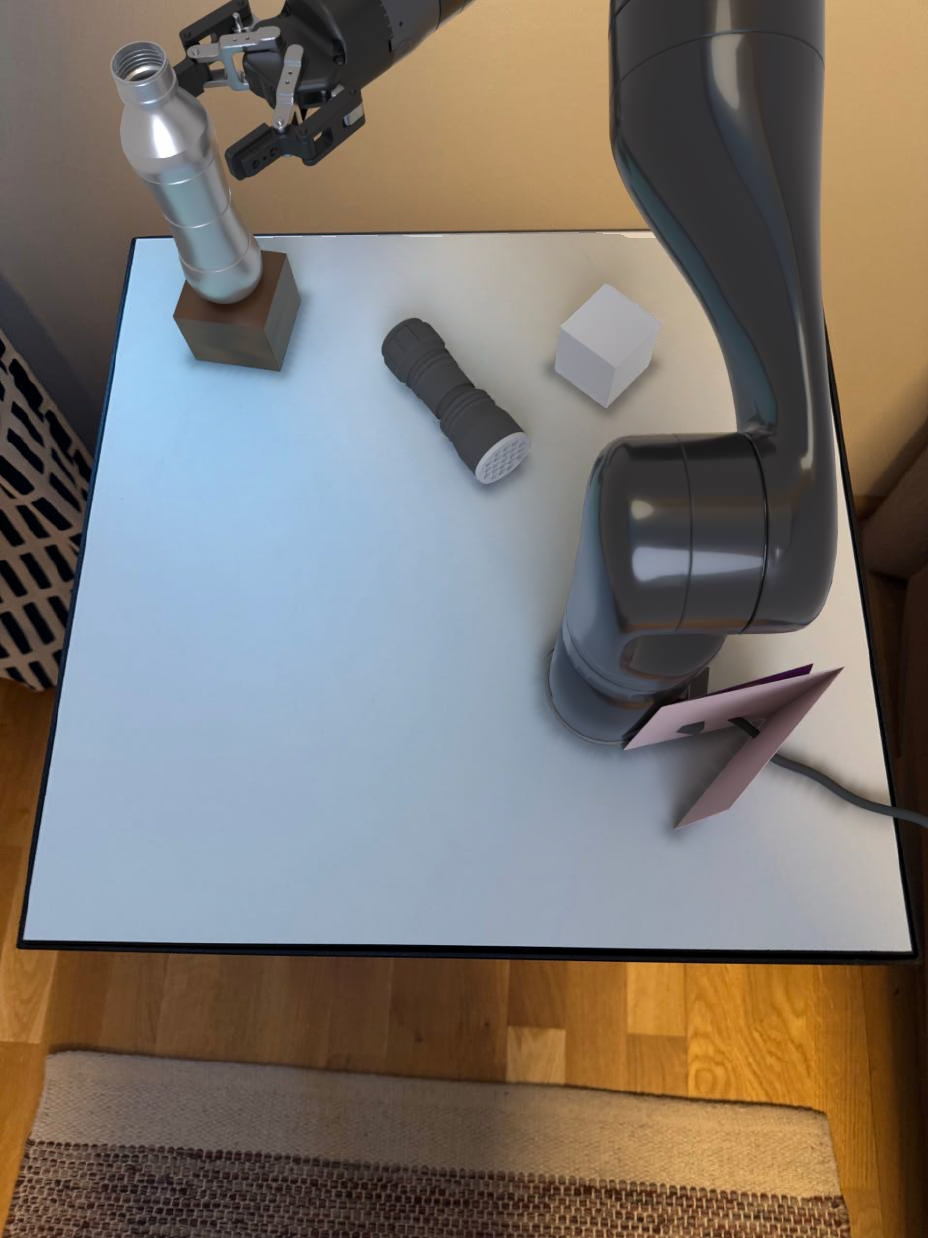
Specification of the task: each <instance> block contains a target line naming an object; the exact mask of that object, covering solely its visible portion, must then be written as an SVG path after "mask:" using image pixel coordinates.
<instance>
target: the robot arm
mask: <svg viewBox="0 0 928 1238" xmlns="http://www.w3.org/2000/svg"><path fill="white" fill-rule="evenodd" d="M475 2H477V0H284V4H283V6H282V9H281V11H280V12H279V14H277V15H275V16H273V17H269V18H264V19H259V18H258V17H257V16H256V15H255V14H254V13H253V12H252V8H251V4H250V1H249V0H230V1H228V2H225V3H224V4H223V5H221V6H220V7H217V8H216V9H215V10H212V11H211V12H210V13H207V14H206V15H205V16H203V17H201V18H199V19H198V20H196V21H194V22H192V23H191V24H189V25H187V26H186V27H184V28H182V29H181V30H180V31H179V32H178V37H179V39H180V40H179V41H180V42H181V45H182V48H183V51H184V54H185V57H184V58H183V59H182V60H180V61H179V62H178V63H177V64H175V65H174V66H171V67H172V68H173V70H174V71H175V74H176V77H177V80H178V86H179V87H181V88H183V89H185V90H186V91H187V92H189V93H190V94H191V95H193V96H194V97H195V98H196V99H197V98H199V96H200V95H202V94H204V93H205V89H213V88H223V87H229V88H230V89H231V90H232V91H234V92H242V91H250V92H252V93H253V94H254V95H255V96H257V97H259V98H261V99H263V100H265V102H266V103H267V104H268V106H269V107H270V108H271V109H272V110H273V114H272V117H271V119H270V124H271V125H268V124H267V123H266V122H263V123H261V124H260V125H258V126H257V127H255V128H254V129H253V130H251V131H250V132H248V133H247V134H246V135H244V136H243V137H242V138H240V139H238V140H237V141H236V142H235V143H233V144H232V145H230V146H229V147H227V149H225V152H224V159H225V162H226V165H227V168H228V171H229V173H230V175H231V176H233V178H235V180H237V181H238V182H242V181H244V180H245V179H246V178H247V179H249V178H252V177H255V176H256V175H259V173H261V172H262V171H263V170H265V169H266V168H267V167H269V166H270V165H272V164H273V163H274V162H276V161H278V159H280V158H281V157H283V158H291V157H293V156H294V157H295V158H299V159H300V160H301V162H302V164H303V165H304V166H306V167H314V166H316V165H317V164H318V163H320V162H321V161H322V160H323V159H325V158H326V157H327V156H328V155H330V154H331V153H332V152H333V151H335V149H336V148H338V147H340V145H342V144H343V143H344V142H345V141H346V140H347V139H349V138H350V137H351V136H352V135H354V134H355V133H356V132H357V131H359V130H360V129H361V128H362V127H363V126H364V125H365V124H366V115H365V114H366V113H365V105H364V99H363V95H362V90H363V89H364V88H366V87H367V86H368V85H370V84H371V83H372V82H373V81H375V80H376V79H378V78H379V77H381V76H382V75H383V74H385V73H386V72H388V71H389V70H390V69H392V68H393V67H394V66H396V65H397V64H398V63H400V62H402V61H403V60H404V59H406V58H407V57H408V56H409V55H411V54H412V53H413V52H414V51H416V50H417V49H418V48H419V47H420V46H421V45H422V44H423V43H424V42H425V41H426V40H427V39H428V38H429V37H430V36H431V35H433V34H434V33H436V31H438V30H440V29H441V28H442V27H444V26H445V25H446V24H448V23H449V22H450V21H452V20H453V19H454V18H456V17H457V16H458V15H460V14H461V13H463V12H464V11H466V10H467V9H468V8H470V7H471V6H472V5H474V4H475ZM607 23H608V24H607V26H608V27H607V42H608V43H607V45H608V47H607V49H608V50H607V52H608V55H607V57H608V136H609V144H610V149H611V155H612V157H613V161H614V164H615V167H616V170H617V172H618V175H619V177H620V179H621V182H622V184H623V186H624V188H625V190H626V192H627V194H628V195H629V197H630V199H631V201H632V202H633V203H634V206H635V208H636V209H637V210H638V212H639V214H640V215H641V218H642V219H643V220H644V222H645V224H646V225H647V227H648V228H649V230H650V231H651V233H652V234H653V236H654V237H655V238H656V240H657V241H658V243H659V244H660V246H661V248H662V249H663V250H664V252H665V253H666V254H667V256H668V257H669V259H670V260H671V262H672V263H673V265H674V266H675V268H676V269H677V271H678V272H679V273H680V275H681V277H682V278H683V279H684V281H685V282H686V283H687V285H688V287H689V288H690V290H691V292H692V293H693V295H694V296H695V298H696V300H697V301H698V303H699V304H700V307H701V309H702V310H703V313H704V314H705V316H706V318H707V320H708V323H709V324H710V327H711V329H712V331H713V333H714V336H715V338H716V341H717V343H718V346H719V349H720V352H721V354H722V357H723V361H724V364H725V368H726V372H727V376H728V381H729V385H730V390H731V395H732V400H733V407H734V414H735V424H736V431H715V432H714V431H713V432H712V431H711V432H708V431H707V432H677V433H676V432H672V433H663V432H662V433H660V432H659V433H632V434H624V435H621V436H618V437H615V438H614V439H611V440H610V441H609V442H608V443H606V445H604V447H603V448H602V449H601V450H600V452H599V453H598V455H597V457H596V458H595V460H594V463H593V465H592V468H591V471H590V474H589V477H588V479H587V484H586V487H585V494H584V499H583V500H584V501H583V505H582V514H581V521H580V522H581V524H580V533H579V541H578V544H577V550H576V555H575V560H574V565H573V569H572V577H571V583H570V589H569V591H568V596H567V599H566V603H565V607H564V611H563V615H562V619H561V623H560V627H559V629H558V634H557V638H556V641H555V645H554V647H553V648H552V649H550V651H549V652H548V654H546V656H545V657H544V658H543V662H545V661H546V660H547V659H548V658H549V656H551V658H550V660H549V664H548V666H547V671H546V676H545V693H546V698H547V702H548V704H549V707H550V710H551V711H552V713H553V715H554V716H555V718H556V719H557V721H558V722H559V723H560V724H561V725H562V727H563V728H564V729H566V730H567V731H568V732H569V733H570V734H571V735H574V736H575V737H576V738H578V739H581V740H583V741H585V742H588V743H591V744H595V745H599V746H618V745H625V744H628V743H630V742H631V740H632V739H633V738H634V737H635V736H636V735H637V734H638V733H639V732H640V730H641V729H642V728H643V727H644V726H645V725H646V724H647V723H648V721H649V720H650V719H651V718H652V717H653V716H654V715H655V714H656V713H657V711H658V710H659V709H660V708H661V707H664V706H668V705H673V704H674V703H678V702H681V701H685V700H688V699H692V698H695V697H698V696H702V695H705V694H708V690H709V680H710V679H709V678H710V670H711V669H710V667H709V665H710V664H711V663H712V662H713V661H714V660H715V659H716V658H717V656H718V655H719V653H720V652H721V650H722V649H723V647H724V646H725V644H726V642H727V639H728V636H735V635H739V636H740V635H741V636H742V635H777V634H788V633H795V632H798V631H801V630H804V629H805V628H807V627H808V626H810V625H811V624H812V623H813V622H814V621H815V620H816V619H817V618H818V617H819V616H820V614H821V612H822V611H823V609H824V607H825V605H826V603H827V600H828V596H829V593H830V591H831V588H832V584H833V580H834V579H833V578H834V572H835V567H836V559H837V553H838V539H839V537H838V536H839V503H838V499H839V498H838V479H837V465H836V464H837V463H836V448H835V438H834V427H833V426H834V425H833V415H832V414H833V413H832V404H831V403H832V402H831V392H830V381H829V380H830V379H829V368H828V357H827V343H826V334H825V333H826V332H825V331H826V330H825V315H824V305H823V304H824V303H823V284H822V281H823V280H822V232H821V231H822V230H821V229H822V226H821V225H822V221H821V220H822V218H821V217H822V166H823V165H822V162H823V161H822V160H823V129H824V105H825V104H824V102H825V77H826V76H825V75H826V73H825V72H826V71H825V70H826V0H609V4H608V21H607ZM207 37H210V39H211V40H210V43H205V44H201V41H202V40H204V39H206V38H207ZM240 53H243V55H242V59H241V65H242V69H243V70H241V69H240V68H239V66H238V63H237V60H236V56H235V54H240ZM216 62H221V63H222V64H223V68H216V69H211V68H210V66H211V65H213V64H214V63H216ZM313 109H317V110H316V111H314V112H313V113H312V114H311V111H313ZM310 114H311V115H310ZM319 134H320V136H318V135H319ZM317 136H318V137H317ZM316 137H317V138H316ZM315 138H316V139H315ZM551 654H552V655H551ZM727 721H729V722H731V723H733V724H735V726H736V727H738V728H740V729H741V730H743V732H745V733H746V734H748V735H749V736H750V737H752V738H753V739H754V738H756V737H757V735H758V734H759V733H760V731H759V730H758V727H756V726H755V725H754V724H752V722H748V721H747V720H745V719H744V718H742V717H736V718H731V719H728V720H727ZM704 725H705V721H702V722H697V723H693V724H688V725H684V726H682V727H681V728H680V729H678V730H677V731H676V732H677V733H683V734H689V735H690V736H697V735H698V733H699V734H701V733H700V732H701V731H702V730H703V729H704ZM769 762H772V763H773V764H775V765H777V766H780V767H782V768H783V769H786V770H787V769H788V770H790V771H792V772H795V773H797V774H801V775H803V776H805V777H808V778H810V779H812V780H813V781H815V782H817V783H818V784H820V785H821V786H823V787H825V788H826V789H828V790H829V791H830V792H832V793H833V794H835V795H836V796H837V797H839V798H841V799H843V800H844V801H846V802H848V803H850V804H852V805H854V806H856V807H859V808H860V809H862V810H863V809H864V810H866V811H869V812H872V813H876V814H879V815H884V816H887V817H891V818H895V819H901V820H903V821H908V822H912V823H915V824H918V825H920V826H922V827H923V828H925V829H926V830H928V816H926V815H924V814H921V813H920V812H916V811H913V810H908V809H905V808H901V807H898V806H897V807H896V806H892V805H888V804H884V803H880V802H877V801H873V800H870V799H867V798H865V797H862V796H860V795H858V794H856V793H854V792H852V791H850V790H848V789H847V788H845V787H843V786H842V785H840V784H839V783H837V782H836V781H835V780H833V779H832V778H830V776H827V775H826V774H824V773H823V772H821V771H820V770H817V769H815V768H813V767H811V766H809V765H806V764H805V763H801V762H798V761H796V760H793V759H790V758H788V757H785V756H783V755H781V754H779V753H777V752H776V753H775V754H774V755H773V757H772V758H771V759H770V760H769Z"/></svg>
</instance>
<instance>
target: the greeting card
mask: <svg viewBox="0 0 928 1238" xmlns="http://www.w3.org/2000/svg"><path fill="white" fill-rule="evenodd" d="M813 666H814V662H812V663H809V664H806V665H801V666H799V667H795V668H792V669H788V670H785V671H781V672H778V673H775V674H771V675H768V676H764V677H761V678H757V679H754V680H751V681H746V682H744V683H740V684H737V685H733V686H730V687H726V688H723V689H719V690H716V691H713V692H709V693H707V694H705V695H702V696H698V697H695V698H692V699H688V700H685V701H681V702H678V703H674V704H673V705H668V706H664V707H661V708H660V709H659V710H658V711H657V713H656V714H655V715H654V716H653V717H652V718H651V719H650V720H649V721H648V723H647V724H646V725H645V726H644V727H643V728H642V729H641V730H640V732H639V733H638V734H637V735H636V736H635V737H634V738H633V739H632V740H631V741H630V742H628V743H627V745H626V746H625V747H624V748H623V749H622V751H627V750H632V749H637V748H640V747H641V748H642V747H646V746H649V745H654V744H658V743H663V742H667V741H671V740H676V739H681V738H685V737H689V736H691V735H689V734H683V733H677V732H676V731H677V730H678V729H680V728H681V727H682V726H684V725H688V724H693V723H697V722H702V721H705V725H704V729H703V730H702V731H701V732H700V733H698V734H702V733H708V732H711V731H716V730H720V729H725V728H729V727H730V728H731V727H733V726H736V725H735V724H733V723H731V722H729V721H727V720H728V719H731V718H736V717H742V718H744V719H745V720H747V721H748V722H750V723H752V722H756V721H761V720H763V721H762V722H761V724H760V725H759V726H758V727H757V729H758V730H759V731H760V733H759V734H758V735H757V737H756V738H754V739H753V738H752V737H751V736H750V737H749V738H748V739H747V741H746V742H745V743H744V744H743V745H742V747H740V748H739V750H738V752H737V753H736V754H735V755H734V756H733V758H732V759H731V760H730V761H729V762H728V764H727V765H726V766H725V767H724V769H723V770H722V771H721V772H720V773H719V774H718V775H717V777H716V778H715V779H714V781H713V782H712V783H711V784H710V785H709V786H708V788H707V789H706V790H705V792H704V793H702V795H700V798H699V799H698V800H697V801H696V802H695V804H693V806H692V807H691V809H689V811H688V812H687V813H686V814H685V815H684V817H683V818H682V819H681V820H680V822H679V823H678V824H677V825H676V826H675V828H674V829H673V830H674V831H676V830H679V829H681V828H685V827H687V826H690V825H692V824H695V823H697V822H700V821H703V820H705V819H709V818H710V817H713V816H716V815H719V814H721V813H723V812H726V811H729V810H731V808H732V807H733V806H734V805H735V804H736V802H737V801H738V800H739V798H741V796H742V795H743V794H744V793H745V791H746V790H747V789H748V788H749V786H750V785H751V784H752V782H753V781H754V780H755V779H756V778H757V776H758V775H759V774H760V773H761V772H762V770H763V769H764V768H765V766H767V764H768V763H769V762H770V759H771V758H772V757H773V755H774V754H775V753H777V752H778V751H779V750H780V748H781V747H782V746H783V745H784V743H785V742H786V741H787V739H789V737H790V736H791V735H792V733H793V732H794V731H795V729H797V727H798V726H799V725H800V724H801V722H802V721H803V720H804V719H805V717H806V716H807V715H808V714H809V712H810V711H811V709H813V707H814V706H815V705H816V704H817V702H818V701H819V700H820V699H821V698H822V697H823V695H824V694H825V692H826V691H827V690H828V689H829V688H830V687H831V686H832V684H833V683H834V682H835V680H836V679H837V678H838V677H839V676H840V674H841V673H842V672H843V670H844V669H845V668H846V665H844V666H839V667H834V668H829V669H826V670H820V671H817V672H812V670H813ZM811 672H812V673H811ZM698 734H697V735H698Z"/></svg>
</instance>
